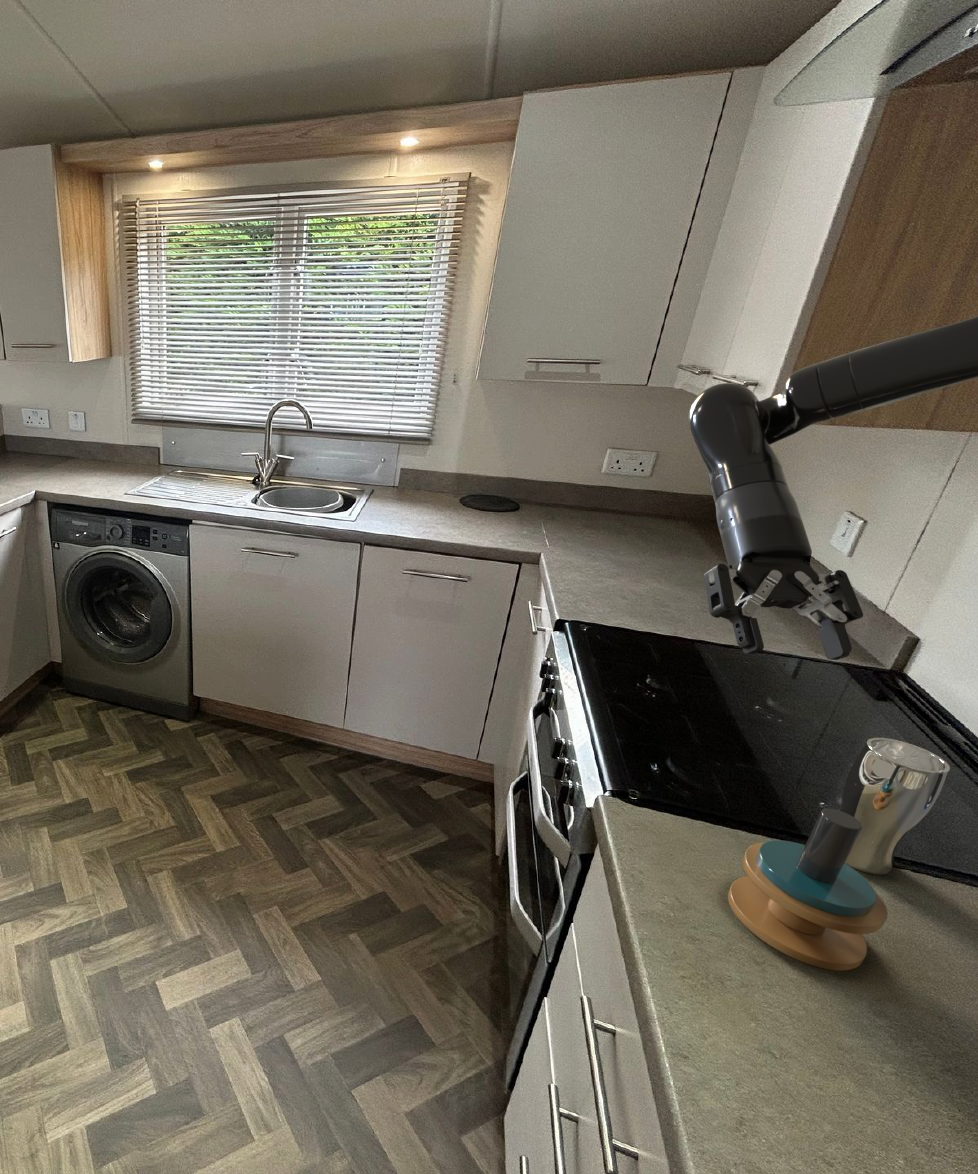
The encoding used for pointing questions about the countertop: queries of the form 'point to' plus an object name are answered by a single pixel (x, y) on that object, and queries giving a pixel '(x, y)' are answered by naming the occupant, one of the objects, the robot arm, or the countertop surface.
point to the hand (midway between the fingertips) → (796, 654)
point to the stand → (800, 921)
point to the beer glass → (889, 798)
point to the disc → (820, 867)
